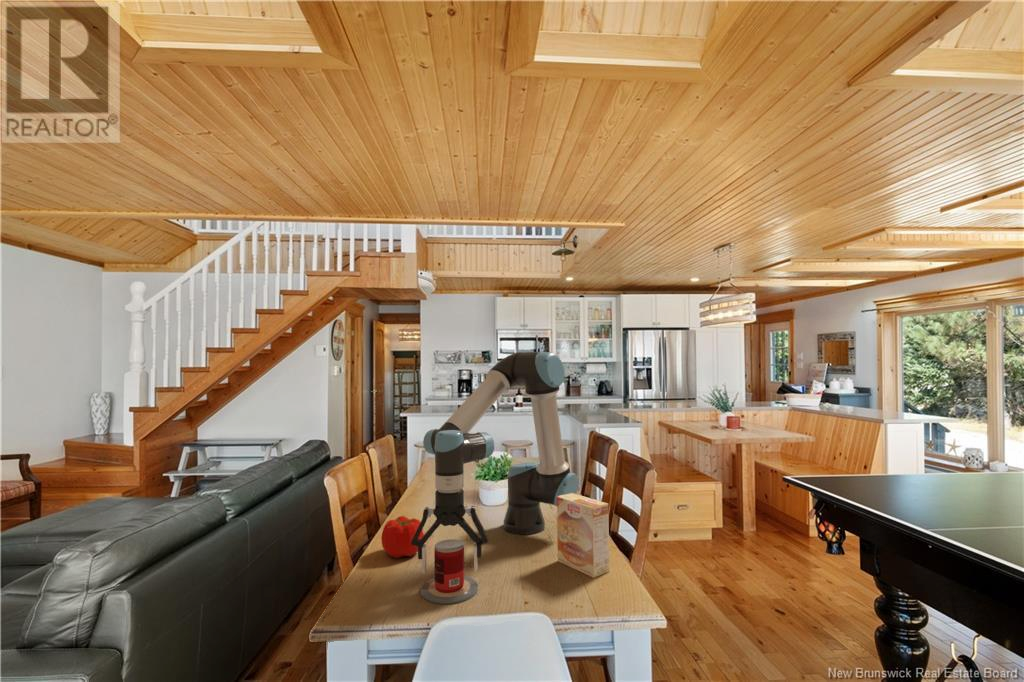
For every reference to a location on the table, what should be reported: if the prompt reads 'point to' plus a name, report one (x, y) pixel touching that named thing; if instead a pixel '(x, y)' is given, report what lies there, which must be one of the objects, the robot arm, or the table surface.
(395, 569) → the table surface
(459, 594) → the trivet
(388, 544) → the tomato
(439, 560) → the canned food
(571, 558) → the coffeecake box
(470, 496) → the table surface
